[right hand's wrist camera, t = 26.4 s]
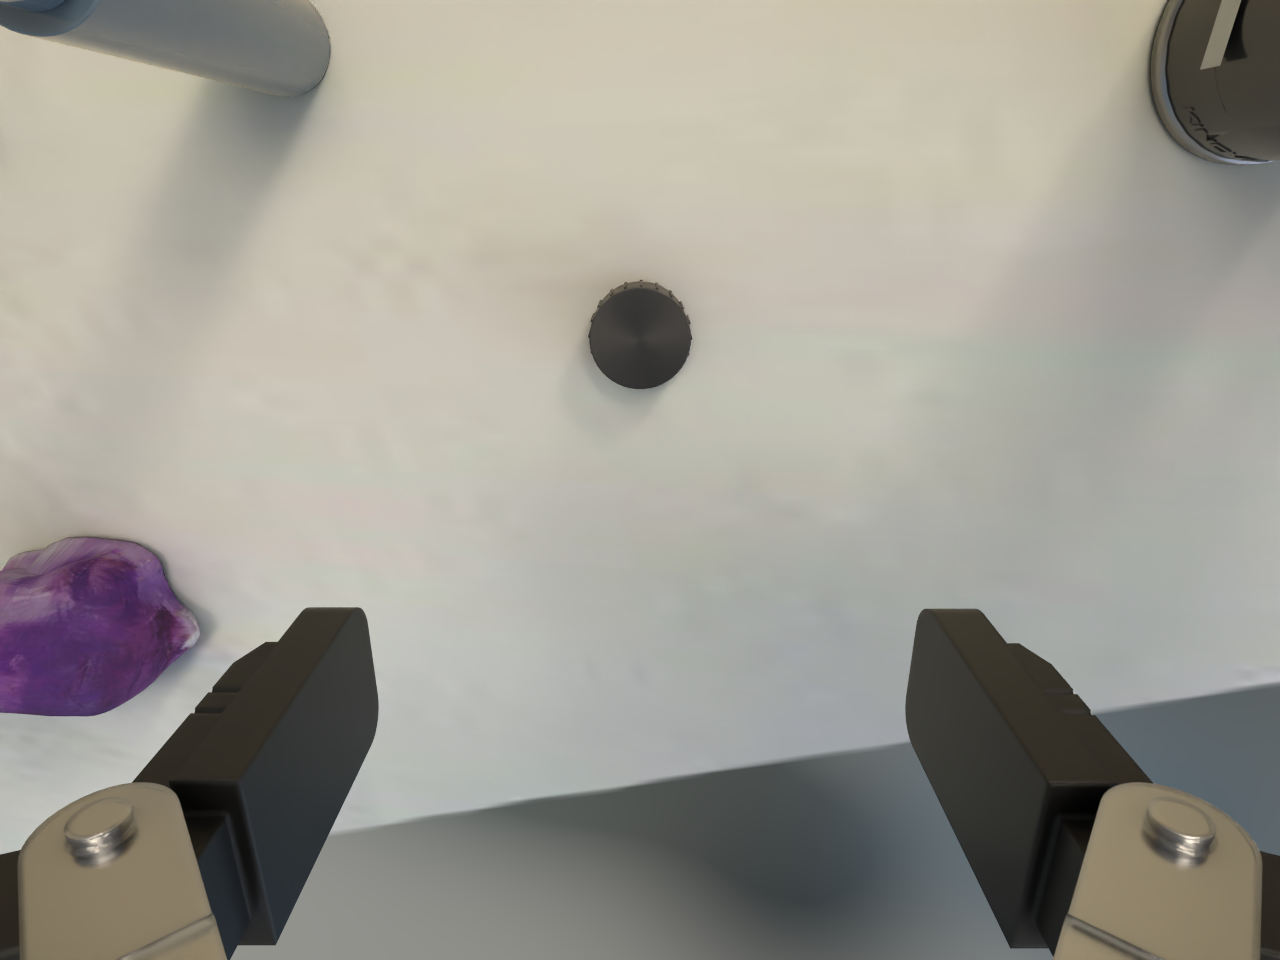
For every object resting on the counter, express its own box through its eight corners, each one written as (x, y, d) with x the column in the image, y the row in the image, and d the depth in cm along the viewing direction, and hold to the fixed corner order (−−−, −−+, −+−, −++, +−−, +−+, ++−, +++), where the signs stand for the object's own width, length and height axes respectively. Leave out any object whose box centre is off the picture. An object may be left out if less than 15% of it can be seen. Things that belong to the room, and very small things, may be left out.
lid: (618, 393, 39) (616, 406, 36) (574, 307, 37) (569, 315, 35) (705, 352, 38) (708, 363, 36) (663, 262, 36) (665, 268, 34)
